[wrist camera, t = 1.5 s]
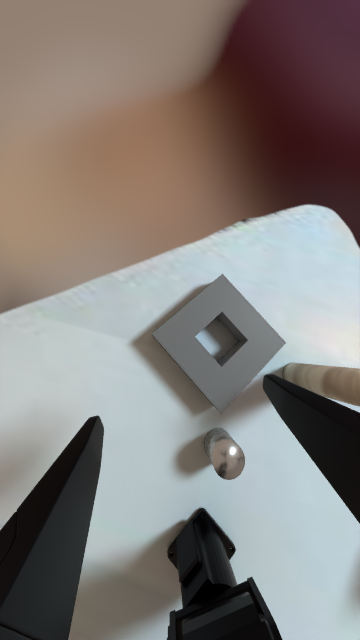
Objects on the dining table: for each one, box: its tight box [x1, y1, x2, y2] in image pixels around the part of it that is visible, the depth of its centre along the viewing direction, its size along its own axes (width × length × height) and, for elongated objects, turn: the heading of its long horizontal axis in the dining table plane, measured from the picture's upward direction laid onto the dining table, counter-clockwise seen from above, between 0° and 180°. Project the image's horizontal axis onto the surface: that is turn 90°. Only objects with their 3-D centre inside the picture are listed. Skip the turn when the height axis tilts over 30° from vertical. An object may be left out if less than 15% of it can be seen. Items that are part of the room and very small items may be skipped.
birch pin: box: [283, 363, 360, 407], centre depth 21 cm, size 4×4×14 cm
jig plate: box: [152, 274, 286, 413], centre depth 26 cm, size 14×14×3 cm
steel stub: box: [205, 428, 245, 480], centre depth 22 cm, size 4×4×4 cm
